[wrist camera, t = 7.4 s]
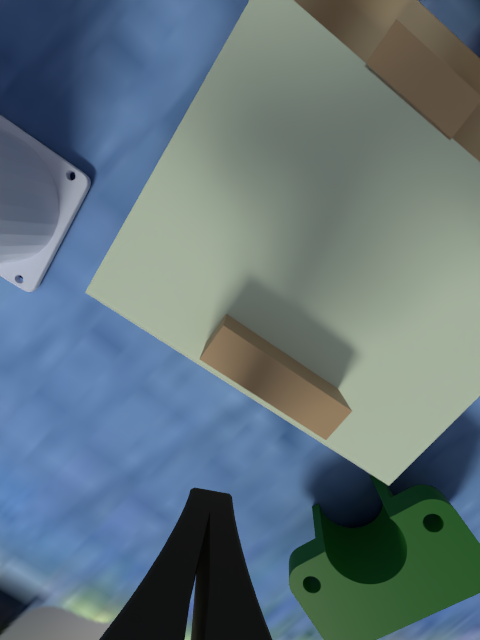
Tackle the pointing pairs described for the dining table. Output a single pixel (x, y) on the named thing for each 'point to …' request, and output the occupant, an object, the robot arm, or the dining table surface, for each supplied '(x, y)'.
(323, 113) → the lid
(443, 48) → the tan shallow box
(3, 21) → the dining table surface
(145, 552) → the dining table surface
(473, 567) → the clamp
